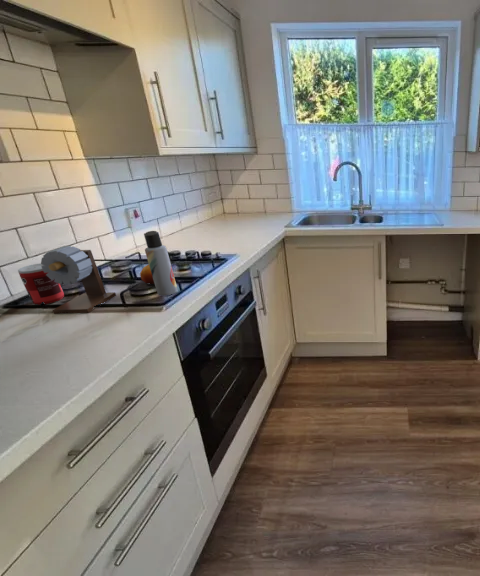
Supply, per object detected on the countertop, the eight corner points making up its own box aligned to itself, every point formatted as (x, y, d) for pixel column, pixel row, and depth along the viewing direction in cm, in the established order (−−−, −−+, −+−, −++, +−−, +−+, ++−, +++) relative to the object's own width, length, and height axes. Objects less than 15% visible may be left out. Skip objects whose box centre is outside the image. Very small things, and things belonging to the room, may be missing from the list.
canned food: (42, 296, 116) (28, 264, 112) (70, 293, 117) (57, 261, 113) (25, 306, 109) (10, 272, 105) (55, 303, 110) (41, 270, 106)
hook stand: (53, 313, 104) (31, 262, 98) (85, 296, 115) (67, 249, 109) (88, 312, 104) (68, 262, 98) (116, 295, 115) (100, 249, 109)
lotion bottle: (179, 288, 119) (163, 228, 112) (176, 294, 115) (159, 233, 107) (159, 291, 118) (142, 230, 110) (156, 297, 113) (137, 235, 105)
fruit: (162, 283, 120) (145, 263, 118) (147, 293, 123) (131, 274, 121) (178, 274, 127) (163, 255, 125) (164, 284, 130) (149, 266, 128)
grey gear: (50, 285, 103) (34, 252, 99) (64, 279, 107) (50, 247, 103) (84, 283, 103) (70, 250, 99) (97, 277, 107) (84, 245, 103)
